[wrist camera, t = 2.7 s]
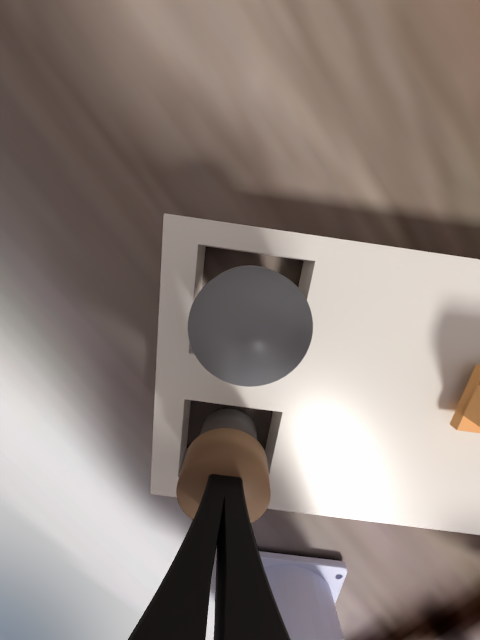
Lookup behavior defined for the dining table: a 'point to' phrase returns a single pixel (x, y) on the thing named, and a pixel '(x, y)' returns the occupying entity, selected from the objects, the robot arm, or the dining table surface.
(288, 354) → the grey push button
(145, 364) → the dining table surface
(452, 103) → the dining table surface
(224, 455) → the button walnut
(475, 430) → the slider handle
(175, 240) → the panel
